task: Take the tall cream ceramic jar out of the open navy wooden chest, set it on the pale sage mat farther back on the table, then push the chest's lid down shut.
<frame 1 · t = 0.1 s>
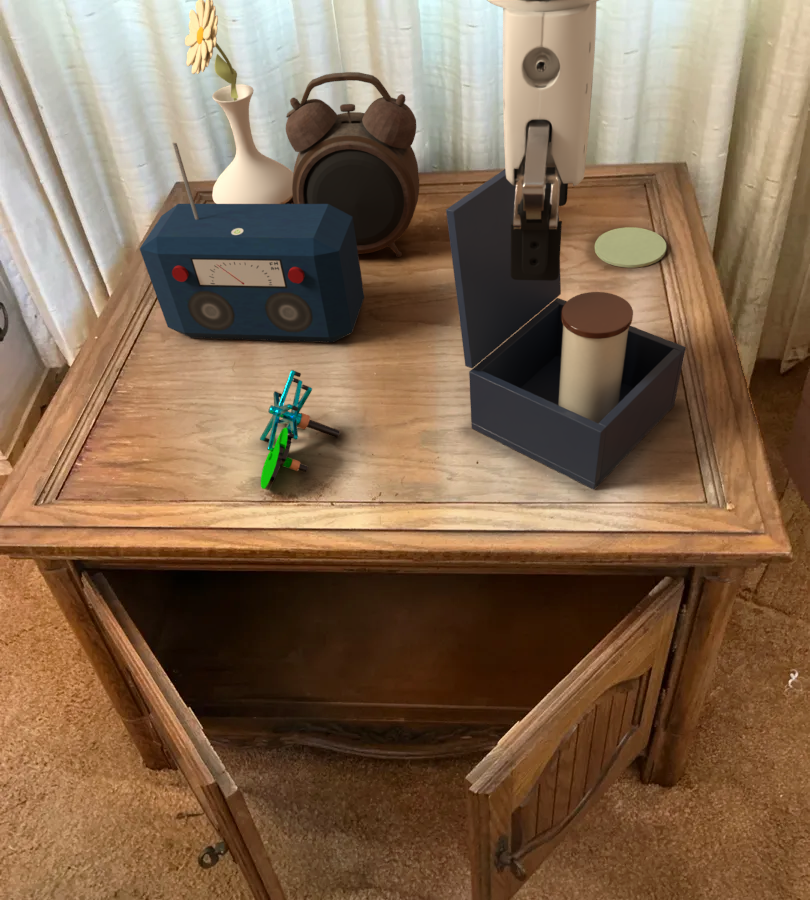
hand: (540, 239, 60), 22 cm above the table, tool pointing down, fingers open, 9 cm apart
lid: (509, 256, 73), point 14 cm above the table, hinge at 95.0°
mat: (630, 248, 98), on the table
chest: (572, 417, 80), on the table
alarm clock: (365, 252, 102), on the table
radio: (268, 325, 94), on the table
stick construction toy: (300, 454, 80), on the table
flower in vase: (258, 205, 112), on the table
jar: (586, 417, 79), point 1 cm above the table, touching chest
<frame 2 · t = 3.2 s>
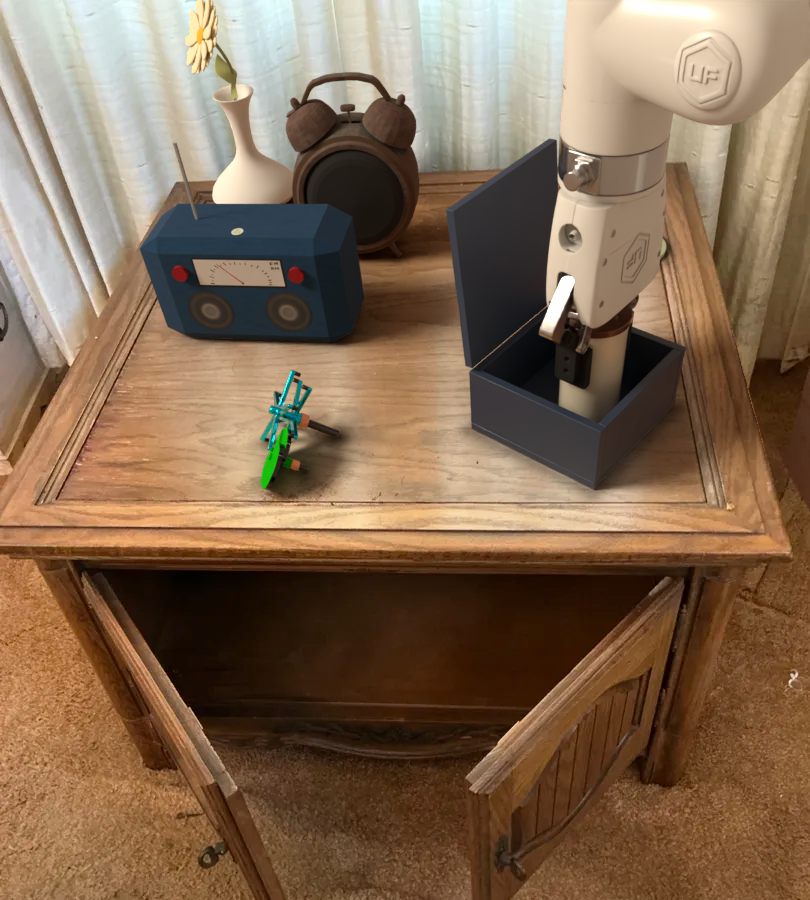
hand: (592, 361, 74), 7 cm above the table, tool pointing down, fingers closed on jar, 5 cm apart
jar: (586, 417, 79), point 1 cm above the table, touching chest, gripper
everything else where it was.
when the fingers open (7 cm above the table, at t = 11.6 s): jar stays where it is, resting on mat.
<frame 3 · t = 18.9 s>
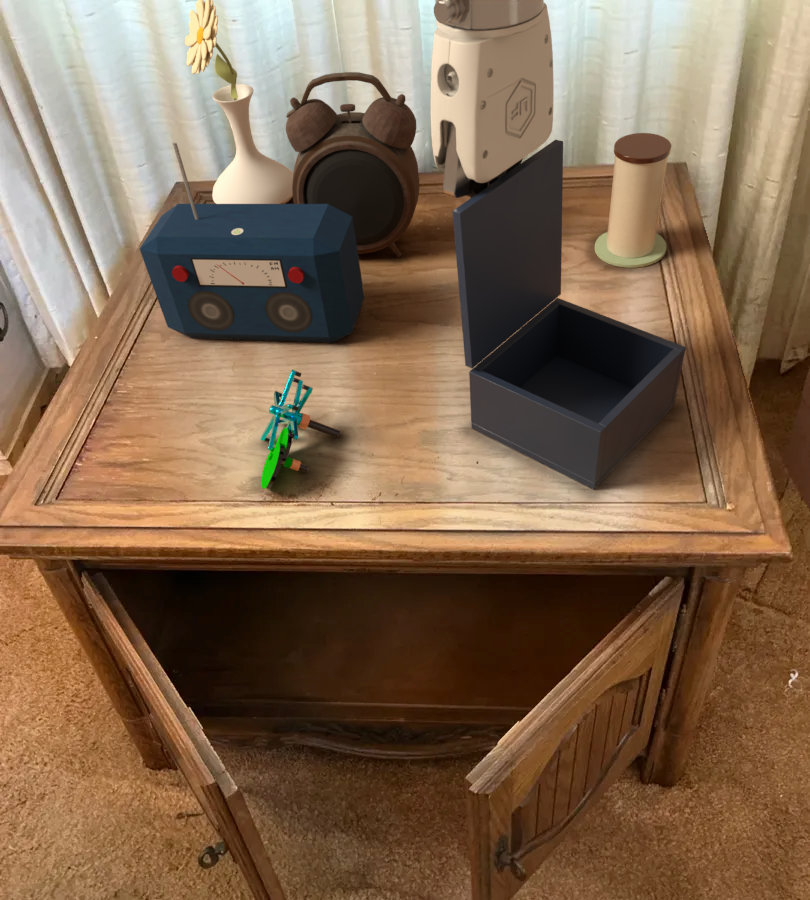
hand: (491, 237, 73), 16 cm above the table, tool pointing down, fingers closed
lid: (512, 257, 72), point 14 cm above the table, hinge at 92.4°, touching gripper
jar: (630, 245, 97), resting on mat
everything else where it was.
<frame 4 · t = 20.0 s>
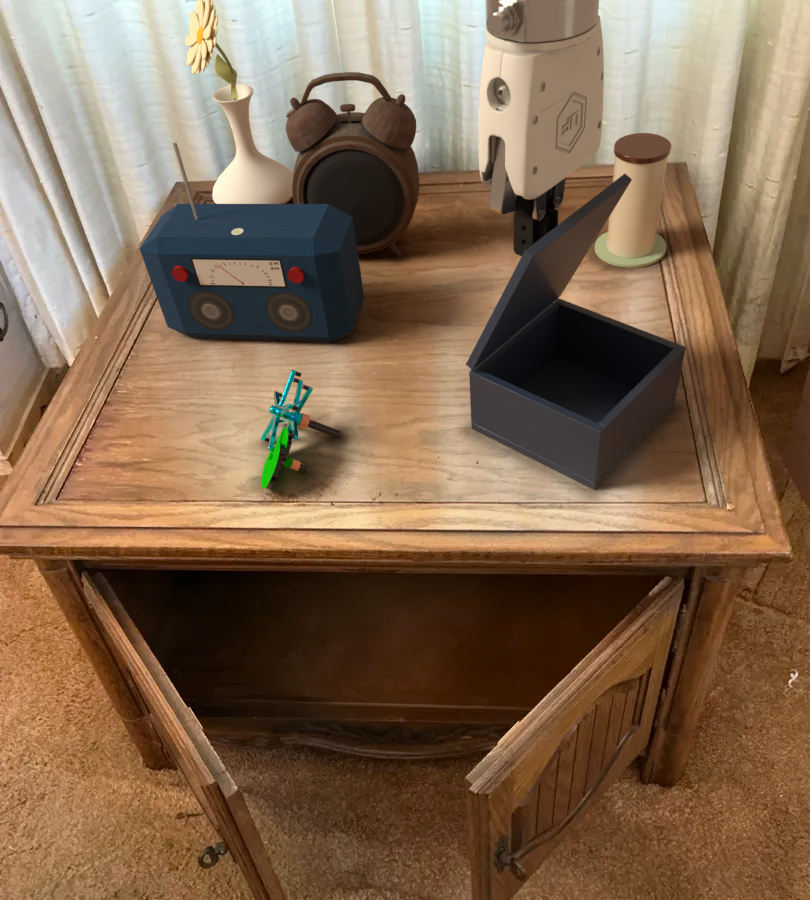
hand: (534, 254, 71), 15 cm above the table, tool pointing down, fingers closed
lid: (544, 276, 71), point 14 cm above the table, hinge at 64.9°, touching gripper
everything else where it was.
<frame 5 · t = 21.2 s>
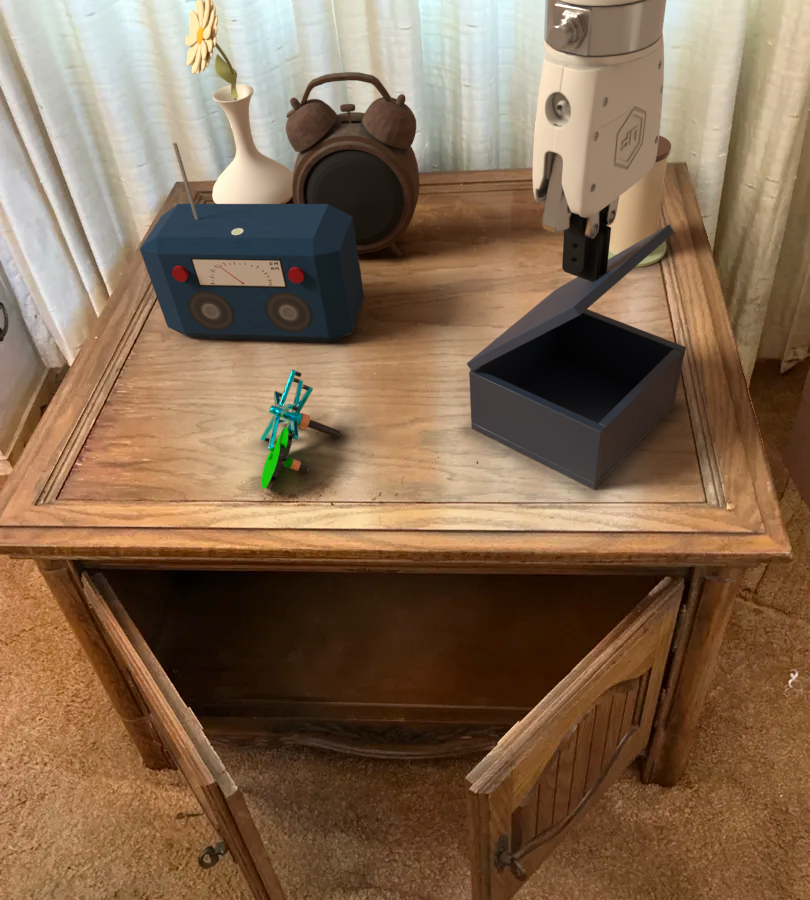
hand: (584, 271, 68), 15 cm above the table, tool pointing down, fingers closed
lid: (565, 301, 71), point 12 cm above the table, hinge at 43.2°, touching gripper
everything else where it was.
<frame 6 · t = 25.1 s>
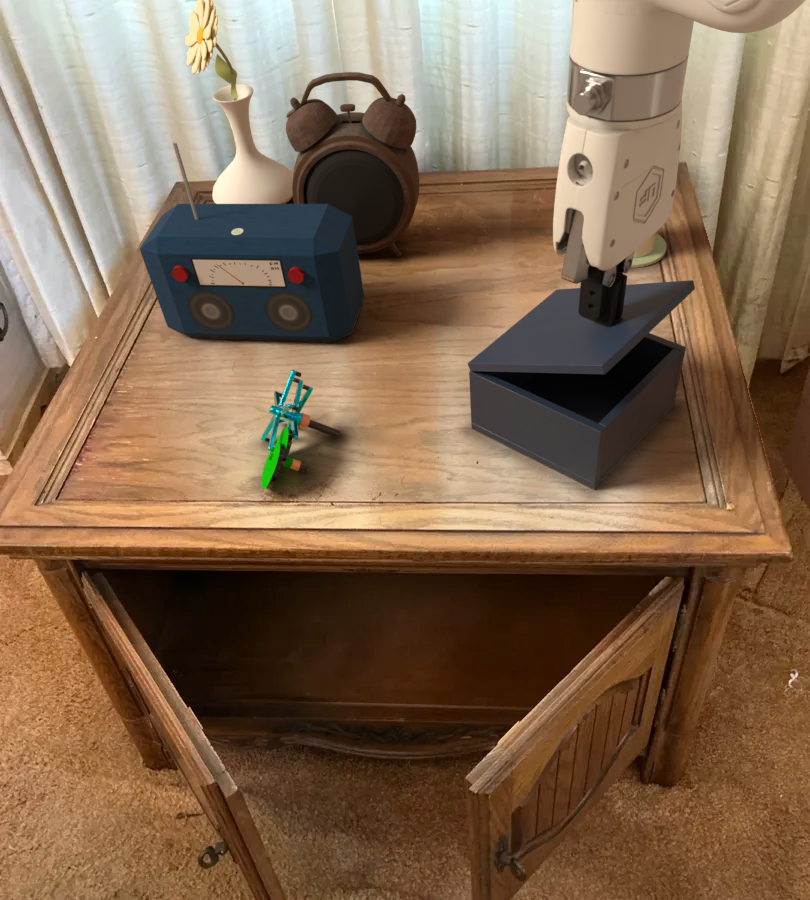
hand: (599, 316, 70), 12 cm above the table, tool pointing down, fingers closed
lid: (578, 327, 72), point 10 cm above the table, hinge at 23.2°, touching gripper
everything else where it was.
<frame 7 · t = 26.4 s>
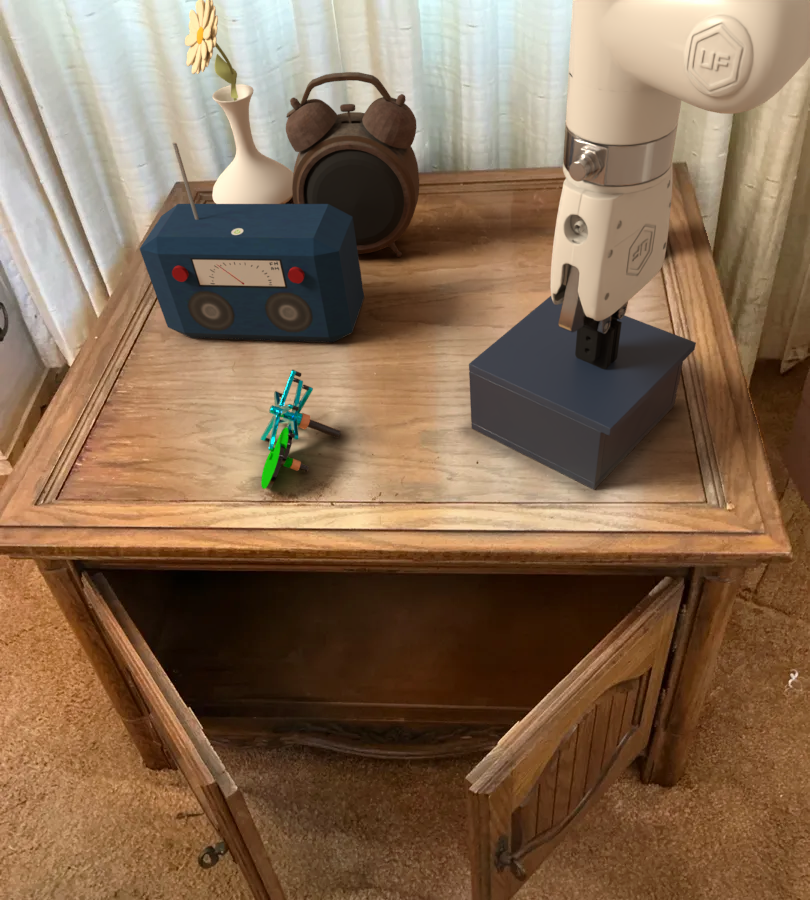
hand: (595, 358, 73), 8 cm above the table, tool pointing down, fingers closed
lid: (581, 356, 74), point 7 cm above the table, hinge at -0.2°, touching chest, gripper
everything else where it was.
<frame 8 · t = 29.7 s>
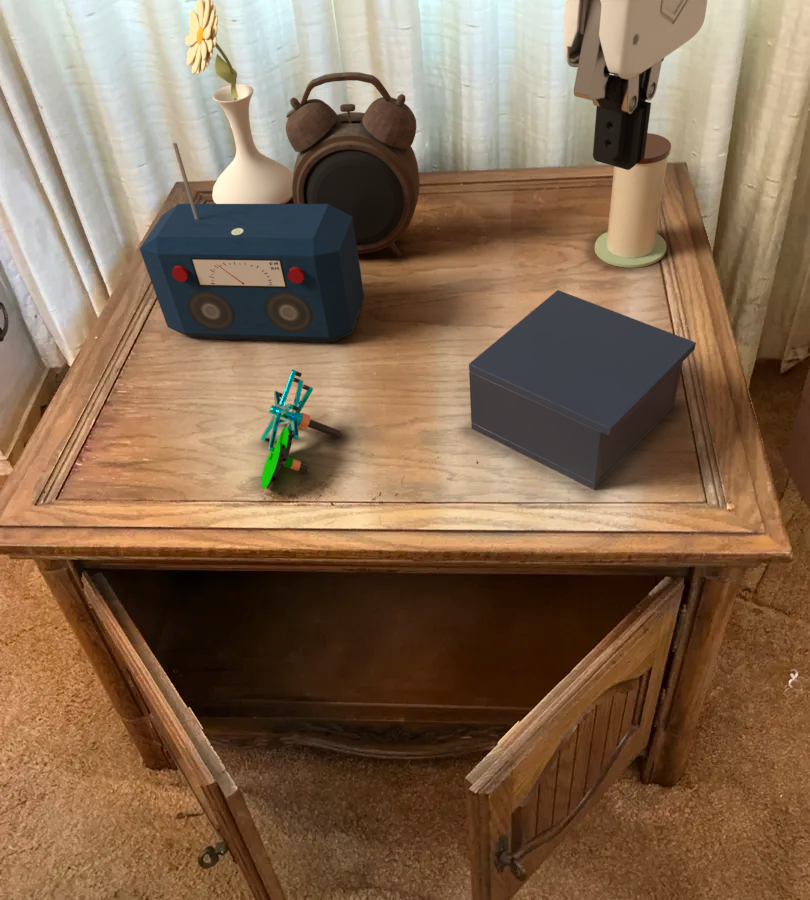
hand: (617, 160, 60), 25 cm above the table, tool pointing down, fingers closed
lid: (581, 356, 74), point 7 cm above the table, hinge at -0.2°, touching chest
everything else where it was.
at the end: jar 0.0 cm off-centre on the mat, point 0.4 cm above the mat's base; jar tilted 0°; lid at +0° (first picture: +95°) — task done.
